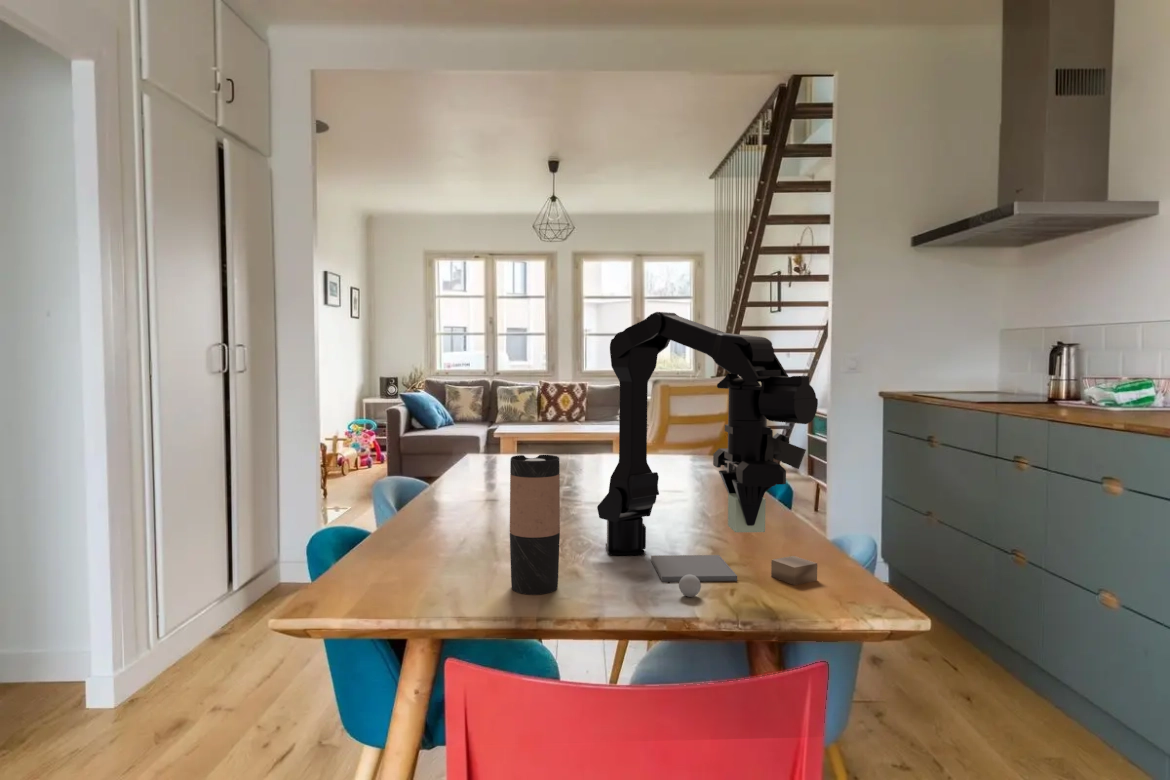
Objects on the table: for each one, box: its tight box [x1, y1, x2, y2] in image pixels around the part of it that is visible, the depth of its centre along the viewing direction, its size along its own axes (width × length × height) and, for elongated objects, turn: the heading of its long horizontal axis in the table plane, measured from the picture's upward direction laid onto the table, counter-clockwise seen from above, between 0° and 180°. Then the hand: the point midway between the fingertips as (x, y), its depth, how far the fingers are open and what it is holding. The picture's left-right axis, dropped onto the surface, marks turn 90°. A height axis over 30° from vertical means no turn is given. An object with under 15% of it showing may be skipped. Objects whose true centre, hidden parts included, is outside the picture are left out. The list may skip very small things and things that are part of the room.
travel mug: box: [509, 454, 561, 596], centre depth 109 cm, size 8×8×20 cm
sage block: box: [727, 492, 767, 533], centre depth 109 cm, size 4×4×5 cm
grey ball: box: [678, 575, 702, 598], centre depth 106 cm, size 3×3×3 cm
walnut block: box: [770, 555, 818, 586], centre depth 115 cm, size 5×5×3 cm
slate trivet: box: [650, 554, 738, 583], centre depth 119 cm, size 12×12×1 cm
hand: (745, 521), depth 109 cm, fingers closed on sage block, 4 cm apart
